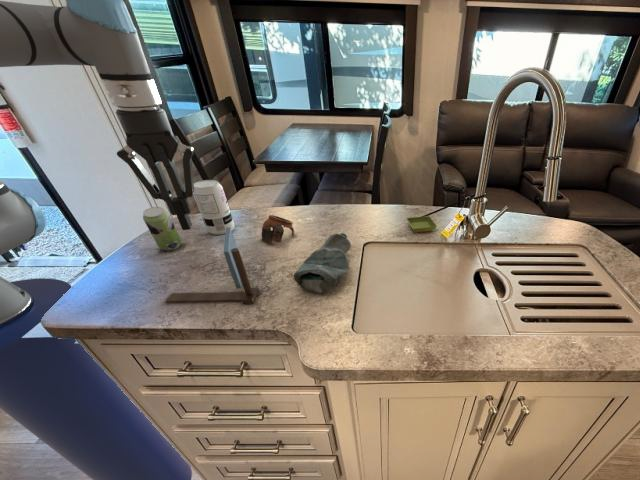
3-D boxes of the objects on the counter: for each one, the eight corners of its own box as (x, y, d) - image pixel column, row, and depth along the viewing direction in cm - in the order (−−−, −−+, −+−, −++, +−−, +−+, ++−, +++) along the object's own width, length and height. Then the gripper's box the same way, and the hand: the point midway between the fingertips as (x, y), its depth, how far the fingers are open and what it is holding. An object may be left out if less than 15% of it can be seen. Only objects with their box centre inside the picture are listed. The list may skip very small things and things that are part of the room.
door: (233, 262, 85) (221, 228, 79) (241, 261, 86) (230, 226, 80) (232, 289, 76) (218, 252, 70) (241, 288, 76) (228, 251, 70)
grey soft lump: (337, 299, 77) (367, 248, 96) (332, 275, 72) (364, 226, 91) (288, 295, 79) (326, 246, 98) (279, 271, 75) (321, 225, 94)
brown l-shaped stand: (164, 305, 74) (136, 256, 66) (174, 292, 78) (150, 245, 70) (253, 303, 75) (237, 255, 67) (259, 291, 79) (245, 244, 71)
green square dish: (437, 232, 107) (437, 226, 106) (412, 234, 105) (412, 228, 104) (429, 221, 114) (429, 215, 113) (405, 223, 112) (405, 217, 111)
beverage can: (181, 240, 98) (164, 202, 91) (186, 250, 94) (168, 211, 86) (157, 246, 95) (138, 207, 88) (161, 256, 91) (141, 216, 83)
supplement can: (203, 230, 104) (185, 183, 95) (227, 222, 109) (213, 177, 100) (215, 238, 100) (197, 190, 91) (240, 229, 105) (225, 183, 96)
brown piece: (258, 237, 102) (264, 212, 100) (288, 245, 107) (294, 221, 105) (260, 244, 92) (267, 216, 90) (293, 252, 97) (301, 226, 95)
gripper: (87, 111, 54) (150, 238, 68) (175, 110, 57) (217, 231, 72) (104, 104, 59) (158, 223, 74) (183, 104, 63) (220, 217, 77)
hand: (187, 227), depth 73 cm, fingers closed
